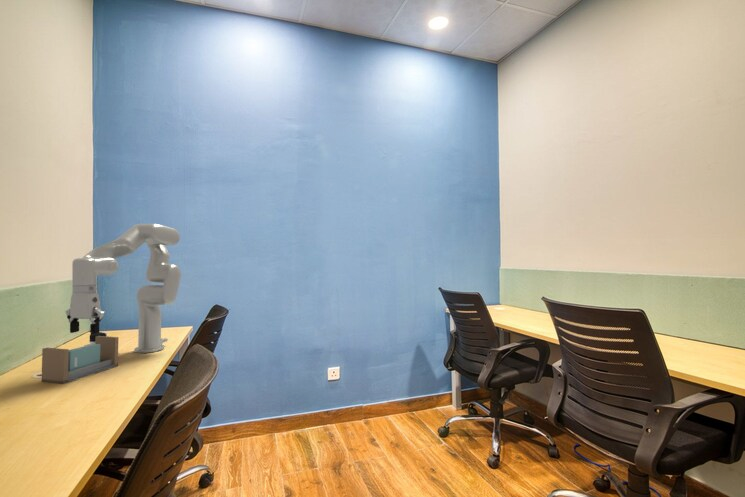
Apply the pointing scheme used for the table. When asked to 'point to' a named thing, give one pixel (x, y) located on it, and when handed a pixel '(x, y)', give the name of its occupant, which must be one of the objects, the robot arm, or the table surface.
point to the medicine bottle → (93, 336)
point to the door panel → (83, 356)
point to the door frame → (58, 368)
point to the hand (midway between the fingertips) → (84, 332)
